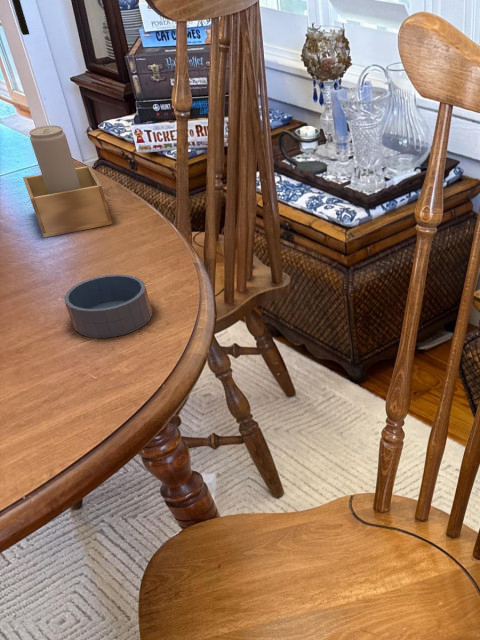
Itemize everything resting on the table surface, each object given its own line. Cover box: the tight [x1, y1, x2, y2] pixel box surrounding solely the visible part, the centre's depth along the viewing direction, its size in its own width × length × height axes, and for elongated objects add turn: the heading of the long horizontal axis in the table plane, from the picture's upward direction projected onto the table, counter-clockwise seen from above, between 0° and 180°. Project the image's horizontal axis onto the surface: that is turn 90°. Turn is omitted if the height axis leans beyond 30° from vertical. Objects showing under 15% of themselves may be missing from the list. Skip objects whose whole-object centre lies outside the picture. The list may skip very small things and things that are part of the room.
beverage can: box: [28, 124, 81, 194], centre depth 115 cm, size 5×5×12 cm
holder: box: [22, 165, 113, 238], centre depth 117 cm, size 10×10×6 cm
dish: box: [63, 274, 153, 339], centre depth 94 cm, size 9×9×4 cm
